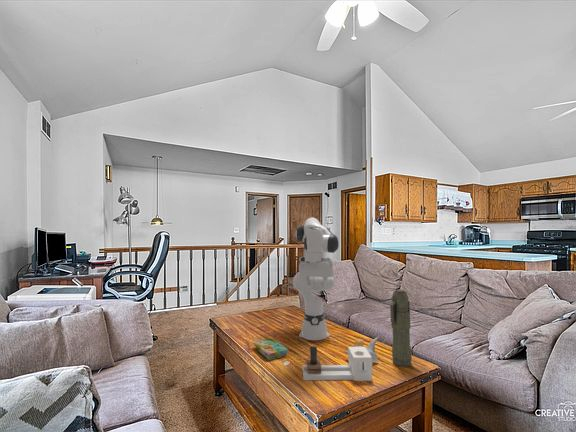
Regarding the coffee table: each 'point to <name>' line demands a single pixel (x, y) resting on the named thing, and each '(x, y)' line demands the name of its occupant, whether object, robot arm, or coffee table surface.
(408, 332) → the thermos
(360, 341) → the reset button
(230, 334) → the coffee table surface
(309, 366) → the carriage
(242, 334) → the coffee table surface
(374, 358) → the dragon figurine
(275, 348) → the puzzle game
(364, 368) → the rail base
